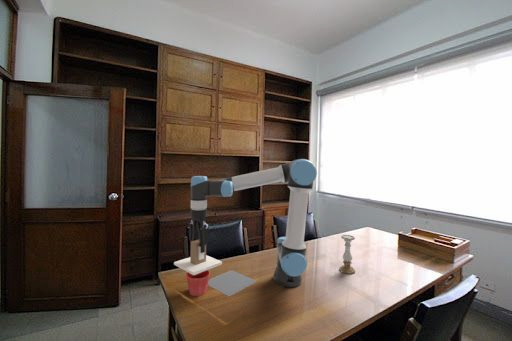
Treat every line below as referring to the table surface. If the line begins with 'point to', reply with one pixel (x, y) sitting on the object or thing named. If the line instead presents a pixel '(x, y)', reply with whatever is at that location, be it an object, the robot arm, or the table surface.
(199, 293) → the flower pot
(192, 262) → the lid
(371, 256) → the table surface
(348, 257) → the candle holder
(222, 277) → the mat
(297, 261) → the robot arm
